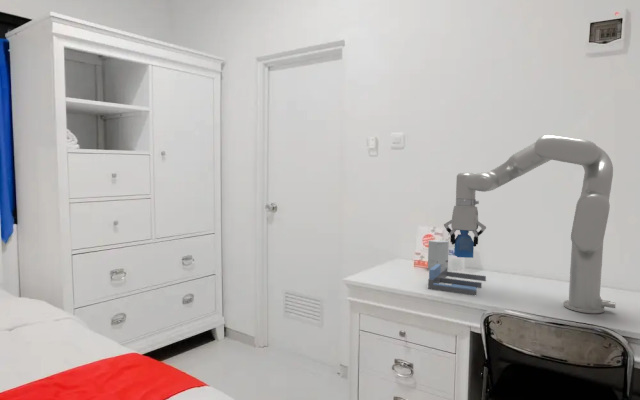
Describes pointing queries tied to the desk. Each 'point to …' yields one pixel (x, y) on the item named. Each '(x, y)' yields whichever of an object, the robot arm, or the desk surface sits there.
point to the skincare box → (438, 253)
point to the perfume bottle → (464, 245)
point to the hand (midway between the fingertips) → (463, 244)
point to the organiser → (453, 281)
